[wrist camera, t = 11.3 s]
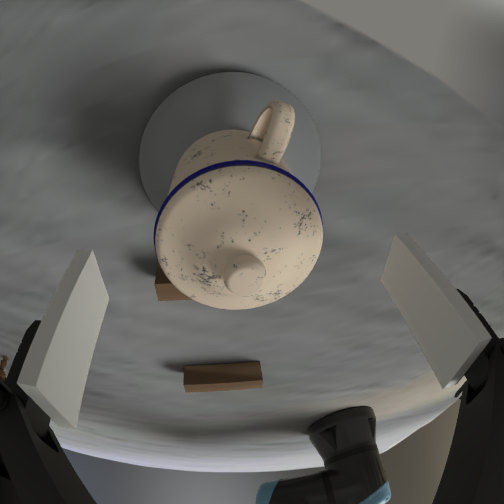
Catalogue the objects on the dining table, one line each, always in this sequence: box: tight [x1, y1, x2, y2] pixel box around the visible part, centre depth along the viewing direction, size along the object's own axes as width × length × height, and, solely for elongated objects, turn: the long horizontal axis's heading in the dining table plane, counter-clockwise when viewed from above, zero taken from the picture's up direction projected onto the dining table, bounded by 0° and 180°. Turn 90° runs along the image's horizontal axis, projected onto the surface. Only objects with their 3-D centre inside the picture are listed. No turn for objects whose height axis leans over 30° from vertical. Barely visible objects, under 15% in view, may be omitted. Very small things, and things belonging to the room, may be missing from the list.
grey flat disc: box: [139, 72, 321, 212], centre depth 23 cm, size 14×14×1 cm
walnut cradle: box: [155, 263, 263, 392], centre depth 33 cm, size 19×10×3 cm, turn 179°
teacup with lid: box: [154, 100, 323, 310], centre depth 18 cm, size 12×9×12 cm
